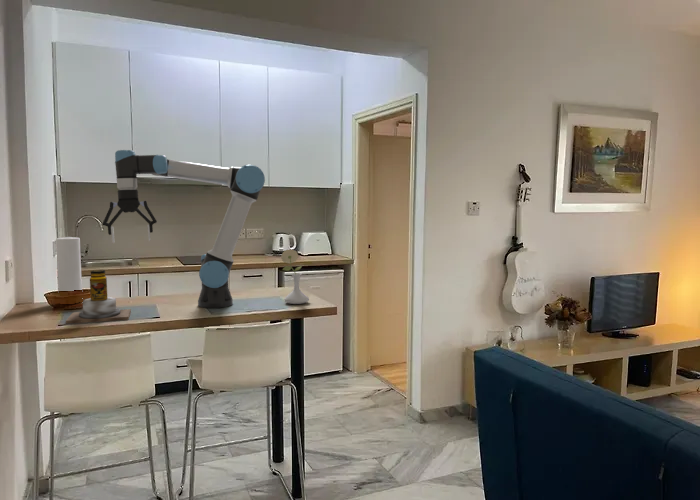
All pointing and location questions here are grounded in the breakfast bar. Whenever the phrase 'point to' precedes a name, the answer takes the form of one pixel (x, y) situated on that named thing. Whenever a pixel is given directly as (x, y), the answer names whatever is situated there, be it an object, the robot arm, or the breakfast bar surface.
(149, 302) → the breakfast bar surface
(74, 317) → the duct base
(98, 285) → the condiment
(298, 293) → the flower in vase
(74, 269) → the cylinder container
